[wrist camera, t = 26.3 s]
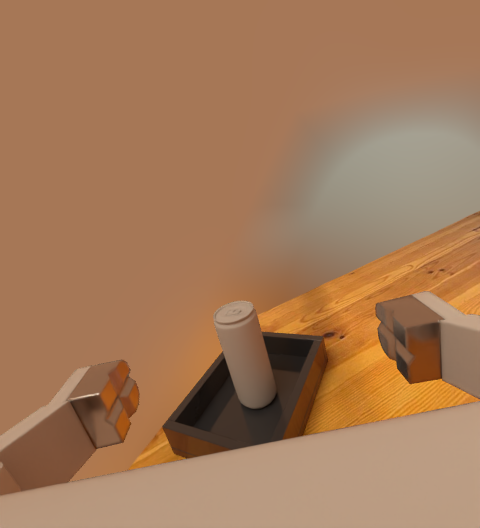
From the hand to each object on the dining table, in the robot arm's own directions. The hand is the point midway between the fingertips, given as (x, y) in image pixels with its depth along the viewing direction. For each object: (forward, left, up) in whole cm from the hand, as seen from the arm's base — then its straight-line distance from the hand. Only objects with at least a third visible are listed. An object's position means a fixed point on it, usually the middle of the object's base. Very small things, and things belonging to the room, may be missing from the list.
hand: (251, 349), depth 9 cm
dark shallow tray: (+5, +21, -22) cm, 31 cm away
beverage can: (+5, +21, -21) cm, 30 cm away
